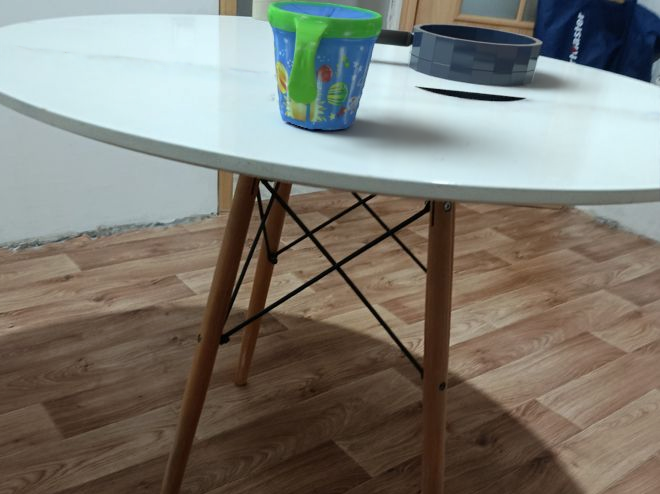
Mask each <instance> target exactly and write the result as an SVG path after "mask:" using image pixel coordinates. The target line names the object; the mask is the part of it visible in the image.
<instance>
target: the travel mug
mask: <svg viewBox="0 0 660 494" xmlns="http://www.w3.org/2000/svg"><path fill="white" fill-rule="evenodd" d="M281 1H300V0H252V11H251V12H252V15H251V17H252V19H254V20H258V21H262V22H268V23H269V21H268V17H267V14H268V10H269V5H270V4H271V3H274V2H281Z"/></svg>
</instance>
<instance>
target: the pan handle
mask: <svg viewBox="0 0 660 494" xmlns="http://www.w3.org/2000/svg"><path fill="white" fill-rule="evenodd" d="M412 33H413V32H412V31H411V32H410V31H406V30H395V29H388V28H382V29H381V33H380V34H379V36H378V38H377V39H376V42H375V44H376V45H385V46H394V47H404V48H410V46H411V45H412V41H413V34H412ZM375 44H374V45H375Z"/></svg>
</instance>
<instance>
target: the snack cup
mask: <svg viewBox="0 0 660 494" xmlns="http://www.w3.org/2000/svg"><path fill="white" fill-rule="evenodd" d="M267 17H268V21H269V22H268V21H267V22H268V23H269V26H270V28H271V30H272V35H273V49H274V50H273V51H274V52H273V53H274V67H275V75H276V77H275V78H276V88H277V96H278V107H279V108H278V109H279V112H280V117H281V120H282V121H283V122H288V121H289V123H290V124H292V125H293V124H295V125H298V126H301V127H306V128H308V129H307V130H314V129H322V130H321V131H332V130H333V131H338V130H346V129H348V128H349V127H350V126H352V125H353V123H354V121H355V119H356V117H357V112H358V109H359V107H360V102H361V98H362V96H363V90H364V88H365V85H366V80H367V77H368V74H369V69H370V66H371V65H370V64H371V61H372V57H373V51H374V48H375V42H376V39H377V38H378V36H379V34H380V33H381V29H383V22H384V21H383V19H384V18H383V17H384V16H383V15H382V14H381V13H379V12H377V11H373V10H371V9H367V8H362V7H358V6H357V7H356V6H351V5H345V4H339V3H331V2H330V3H329V2H320V1H319V2H318V1H307V0H299V1H281V2H274V3H271V4H270V5H269V10H268V14H267ZM295 125H294V126H295ZM298 126H297V127H298ZM301 127H300V128H301Z"/></svg>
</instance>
